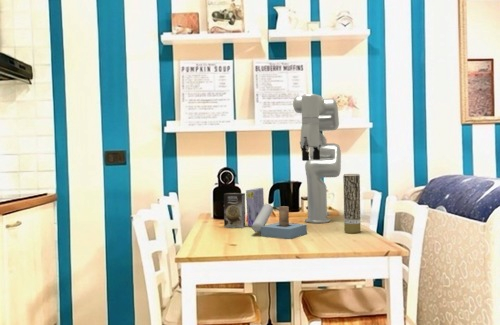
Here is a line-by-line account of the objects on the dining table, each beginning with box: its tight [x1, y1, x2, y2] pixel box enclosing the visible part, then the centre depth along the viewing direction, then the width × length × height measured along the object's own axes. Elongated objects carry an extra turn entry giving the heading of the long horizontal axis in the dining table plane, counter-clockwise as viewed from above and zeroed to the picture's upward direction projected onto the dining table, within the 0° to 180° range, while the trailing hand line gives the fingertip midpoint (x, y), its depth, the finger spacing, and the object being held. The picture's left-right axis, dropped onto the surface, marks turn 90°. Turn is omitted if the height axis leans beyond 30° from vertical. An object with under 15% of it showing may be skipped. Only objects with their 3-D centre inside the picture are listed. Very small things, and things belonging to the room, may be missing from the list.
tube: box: [251, 203, 274, 234], centre depth 205 cm, size 5×5×25 cm
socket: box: [260, 221, 308, 240], centre depth 195 cm, size 14×14×4 cm
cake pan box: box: [245, 187, 265, 228], centre depth 226 cm, size 19×5×18 cm, turn 165°
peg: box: [278, 205, 290, 227], centre depth 195 cm, size 4×4×12 cm
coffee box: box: [223, 192, 246, 229], centre depth 219 cm, size 9×6×16 cm
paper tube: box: [342, 173, 362, 234], centre depth 198 cm, size 7×7×25 cm
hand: (311, 160), depth 207 cm, fingers open, 9 cm apart
